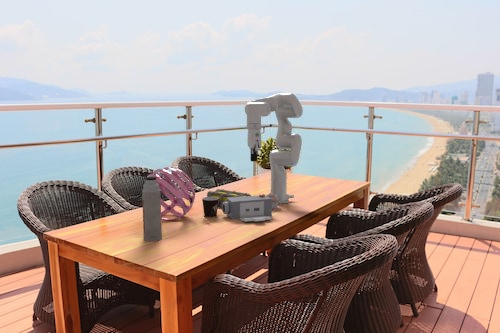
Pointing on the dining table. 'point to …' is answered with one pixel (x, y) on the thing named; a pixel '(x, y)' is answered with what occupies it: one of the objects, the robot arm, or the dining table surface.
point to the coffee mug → (210, 206)
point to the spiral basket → (175, 191)
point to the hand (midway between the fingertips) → (253, 161)
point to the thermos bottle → (151, 210)
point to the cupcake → (273, 200)
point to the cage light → (225, 195)
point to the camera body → (247, 206)
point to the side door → (255, 218)
